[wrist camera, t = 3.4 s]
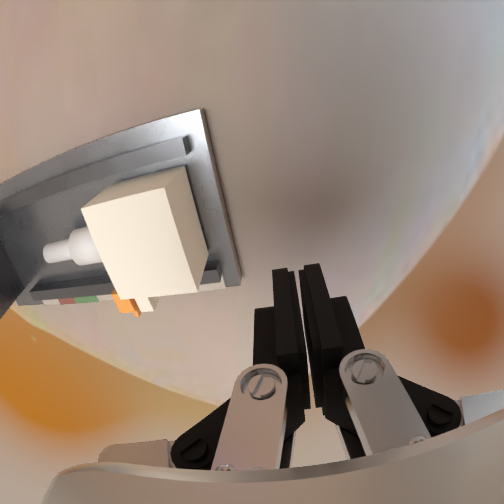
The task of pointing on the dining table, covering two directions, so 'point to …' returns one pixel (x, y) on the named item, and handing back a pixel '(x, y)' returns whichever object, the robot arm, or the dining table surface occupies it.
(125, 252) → the cube with side peg
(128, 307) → the indicator
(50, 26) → the dining table surface
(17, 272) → the gauge bed
